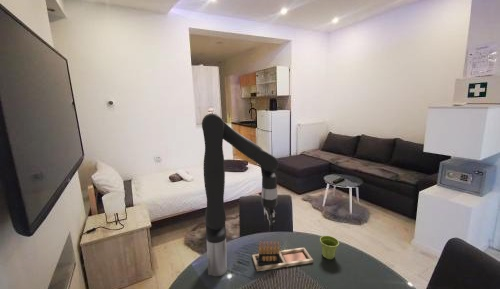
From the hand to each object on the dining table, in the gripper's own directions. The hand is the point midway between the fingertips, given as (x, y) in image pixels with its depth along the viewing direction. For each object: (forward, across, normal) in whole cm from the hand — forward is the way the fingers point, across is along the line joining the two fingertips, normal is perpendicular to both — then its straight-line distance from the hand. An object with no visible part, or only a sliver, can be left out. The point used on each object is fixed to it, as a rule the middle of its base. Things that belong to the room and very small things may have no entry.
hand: (269, 226), depth 114 cm
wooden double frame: (+20, 0, +7) cm, 21 cm away
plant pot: (+20, +2, +32) cm, 38 cm away
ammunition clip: (+20, 0, 0) cm, 20 cm away
